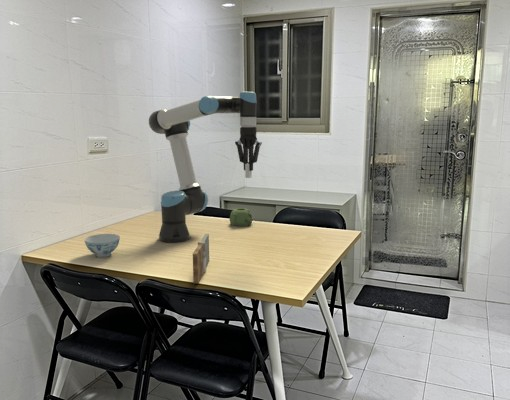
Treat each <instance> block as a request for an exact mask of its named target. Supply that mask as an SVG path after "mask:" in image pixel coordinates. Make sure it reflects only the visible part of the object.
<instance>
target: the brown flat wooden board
mask: <svg viewBox="0 0 510 400" xmlns="http://www.w3.org/2000/svg"><path fill="white" fill-rule="evenodd" d="M205 257H206V243H205V242H201V241H199V242H197V247H196V248H195V249H194V251H193V252H192V275H193V278H192V279H193V281H192V282H193V284H194V285H195V284H196V285H197V284H199V282H200V280H201V278H202V277H203V274H205V273H204V268H203V258H205Z"/></svg>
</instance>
